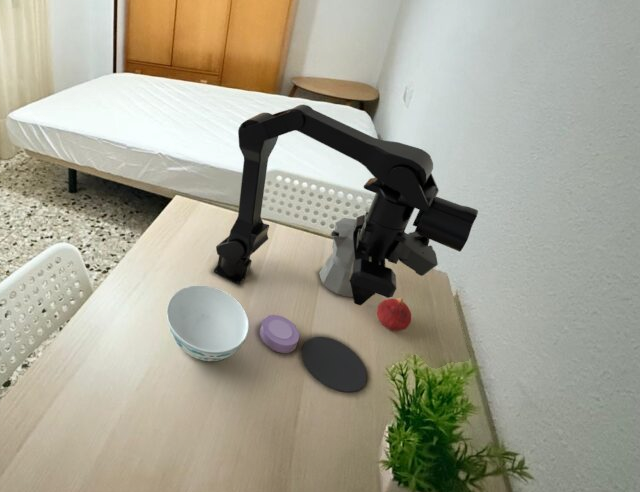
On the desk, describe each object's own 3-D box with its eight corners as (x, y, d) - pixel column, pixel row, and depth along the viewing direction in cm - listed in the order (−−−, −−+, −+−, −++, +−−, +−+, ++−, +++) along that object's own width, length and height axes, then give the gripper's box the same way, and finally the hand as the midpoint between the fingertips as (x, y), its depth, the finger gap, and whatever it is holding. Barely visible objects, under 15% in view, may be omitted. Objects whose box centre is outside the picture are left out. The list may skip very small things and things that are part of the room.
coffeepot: (327, 301, 88) (351, 236, 80) (303, 271, 96) (321, 209, 89) (387, 293, 91) (415, 229, 83) (358, 264, 99) (381, 203, 92)
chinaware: (248, 329, 81) (255, 301, 78) (233, 395, 69) (240, 366, 65) (177, 302, 86) (181, 275, 83) (151, 359, 74) (154, 330, 71)
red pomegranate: (409, 342, 80) (423, 313, 76) (377, 336, 81) (390, 307, 77) (397, 318, 85) (410, 290, 81) (368, 313, 86) (379, 285, 82)
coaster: (294, 367, 74) (294, 366, 74) (310, 327, 82) (311, 326, 82) (359, 405, 68) (360, 404, 68) (370, 359, 76) (371, 358, 76)
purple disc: (254, 339, 79) (256, 331, 78) (267, 316, 84) (269, 308, 83) (290, 360, 75) (292, 351, 74) (301, 335, 80) (304, 327, 79)
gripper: (452, 272, 57) (412, 345, 64) (437, 207, 72) (405, 272, 79) (365, 243, 62) (336, 315, 69) (367, 188, 76) (343, 251, 83)
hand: (358, 287), depth 75 cm, fingers open, 9 cm apart
